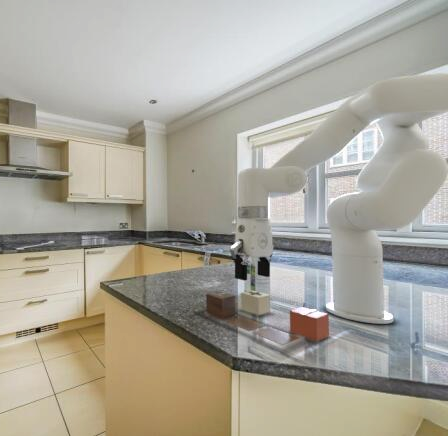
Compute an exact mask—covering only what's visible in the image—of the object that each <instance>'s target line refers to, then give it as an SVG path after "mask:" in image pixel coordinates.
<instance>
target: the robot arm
mask: <svg viewBox="0 0 448 436" xmlns="http://www.w3.org/2000/svg"><path fill="white" fill-rule="evenodd" d="M446 113H448V72H436V73H434V72H433V73H427V74H425V73H423V74H413V75H403V76H395V77H390V78H386V79H382V80H379V81H377V82H374V83H373V84H371V85H369V86H368V87H366V88H364V89H362V90H361V91H359V92H358V93H356V94H354V95H353V96H351V97H350V98H348V99H347V100H345V101H344V102H343V103H342V104H340V105H339V106H338V107H337V108H336V109H335V110H334V111H332V113H331V114H329V116H328V117H326V118H325V119H324V120H323V122H322V123H320V124H319V125H318V126H317V127H316V128H315V129H314V130H313V131H311V132H310V133H309V134H308V135H307V136H306V137H305V138H303V139H302V140H301V141H300V142H298V144H296V145H295V146H294V147H293V148H292V149H291V150H289V151H287V152H286V153H285V154H284V155H283V156H282V157H281V158H280V159H278V160H277V161H276V162H275V163H274V164H273V165H272V166H271V167H269V168H266V167H249V168H245V169H242V170H240V171H239V172H238V175H237V220H236V226H235V228H236V229H235V233H234V235H235V236H234V243H233V245H231V246H230V247H229V252H230V256H231V259H232V260H233V261H232V262H233V264H234V278H235V279H237V280H241V281H243V282H244V281H245V280H247V265H245V264H246V262H247V260H248V258H249V256H250V257H253V258H256V257H258V258H259V260H260V261H258V275H260V276H265V277H269V276H270V277H271V262H272V257H273V251H274V248H275V246H274V244H273V231H272V224H271V221H270V199H274V198H275V199H276V198H280V197H288V196H291V195H295V194H297V193H300V192H302V191H303V190H304V189H305V188H306V186H307V185H308V182H309V175H308V173H307V172H308V171H310V170H312V169H313V168H315V167H317V166H319V165H322V164H324V163H326V162H328V161H329V160H331V159H333V158H334V157H336V156H337V155H339V154H340V153H342V151H344V150H345V148H347V146H349V145H350V144H351V143H352V142H353V141H354V140H355V139H356V138H357V137H358V136H359V135H361V134H362V133H363V132H364V131H365V130H366V129H367V128H368V127H370V126H371V125H372V124H374V123H376V126H377V128H378V131H379V132H380V133H381V137H382V141H381V143H380V145H379V147H378V148H377V150H376V151H375V153H374V154H373V155H372V157H370V159H369V160H368V161H367V163H366V164H365V165H364V166H363V168H362V169H361V170H360V172H359V174H358V176H357V177H356V183H355V185H356V187H357V189H358V192H350V193H346V194H342V195H340V196H337V197H336V198H334V199H333V200H332V201H330V202H329V204H328V205H327V208H326V220H327V223H328V227H329V231H330V239H331V269H332V270H331V271H332V272H331V273H332V302H328V303H326V304H325V310H326V311H327V312H328V313H330V314H332V315H335V316H337V317H339V318H344V319H347V320H351V321H355V322H361V323H367V324H376V325H377V324H378V325H387V324H392V323H394V318H395V317H394V316H393V314H391V313H390V312H387V311H385V300H384V299H385V297H384V296H385V295H384V294H385V293H384V292H385V291H384V290H385V289H384V258H383V257H384V251H383V244H382V242H381V239H380V238H379V235H378V233H377V232H376V231H380V232H381V231H383V232H384V231H397V230H401V229H404V228H405V227H406V228H407V226H409V225H411V224H412V223H413V222H414V221H415V220H416V219H417V218H418V217H419V215H420V214H421V213H422V212H423V211H424V210H425V208H426V207H427V206H428V205H429V204H430V202H431V201H432V200H433V199H434V197H435V196H436V194H438V192H439V190H440V189H441V188H442V186H443V185H444V184H445V182H446V180H447V178H448V161H447V159H446V158H445V157H444V156H443V155H442V154H441V153H439V152H437V151H435V150H433V149H429V148H430V139H429V137H428V135H426V134H425V132H424V131H423V130H422V128H421V127H420V125H419V124H418V123H421V122H424V121H426V120H429V119H433V118H435V117H437V116H440V115H443V114H446Z"/></svg>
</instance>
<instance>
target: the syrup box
mask: <svg viewBox="0 0 448 436" xmlns="http://www.w3.org/2000/svg"><path fill="white" fill-rule="evenodd" d="M258 261H260V260H259V258H258V257H256V258H253V257H250V256H249V258H248V260H247V262H246V264H245V265H247V280H245V281H244V280H243V289H244V290H243V292H247V291H251V290H253V291H257V292H261V293H265V294H269V295H270V296H271V275H270V276H269V277H265V276H260V275H258Z"/></svg>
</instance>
